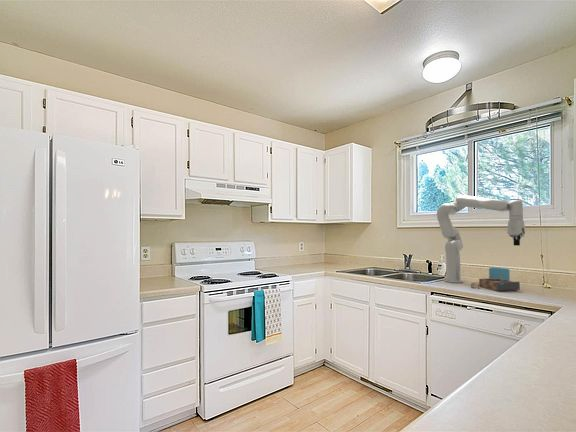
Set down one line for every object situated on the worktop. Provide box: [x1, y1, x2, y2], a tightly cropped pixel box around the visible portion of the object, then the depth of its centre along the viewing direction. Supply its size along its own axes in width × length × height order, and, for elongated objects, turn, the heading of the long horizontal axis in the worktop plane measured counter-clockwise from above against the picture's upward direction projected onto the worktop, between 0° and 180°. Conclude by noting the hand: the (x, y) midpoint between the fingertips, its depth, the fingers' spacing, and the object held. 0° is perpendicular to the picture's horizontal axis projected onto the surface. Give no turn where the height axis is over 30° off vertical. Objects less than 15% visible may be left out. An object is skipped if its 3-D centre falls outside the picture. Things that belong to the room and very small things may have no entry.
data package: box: [488, 266, 511, 281], centre depth 224 cm, size 12×4×12 cm, turn 51°
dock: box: [478, 278, 518, 292], centre depth 207 cm, size 16×14×6 cm
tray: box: [496, 281, 521, 291], centre depth 206 cm, size 16×15×5 cm
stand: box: [470, 281, 480, 289], centre depth 210 cm, size 5×5×4 cm
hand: (516, 245), depth 209 cm, fingers closed
